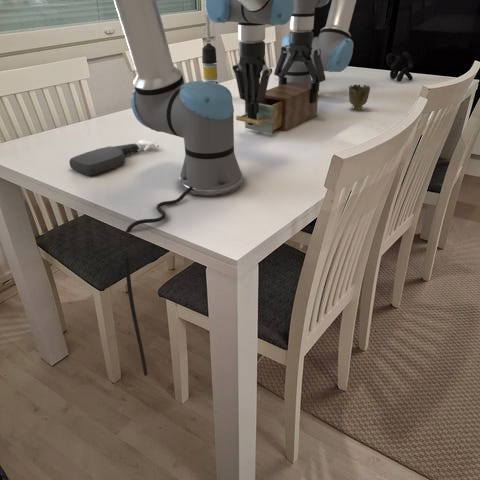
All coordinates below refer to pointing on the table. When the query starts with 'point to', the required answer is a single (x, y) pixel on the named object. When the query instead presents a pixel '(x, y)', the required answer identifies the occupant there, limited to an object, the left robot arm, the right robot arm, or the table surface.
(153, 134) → the table surface
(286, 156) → the table surface
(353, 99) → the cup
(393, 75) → the squiggle
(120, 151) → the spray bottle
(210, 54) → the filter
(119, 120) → the table surface
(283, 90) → the cabinet
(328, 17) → the right robot arm
